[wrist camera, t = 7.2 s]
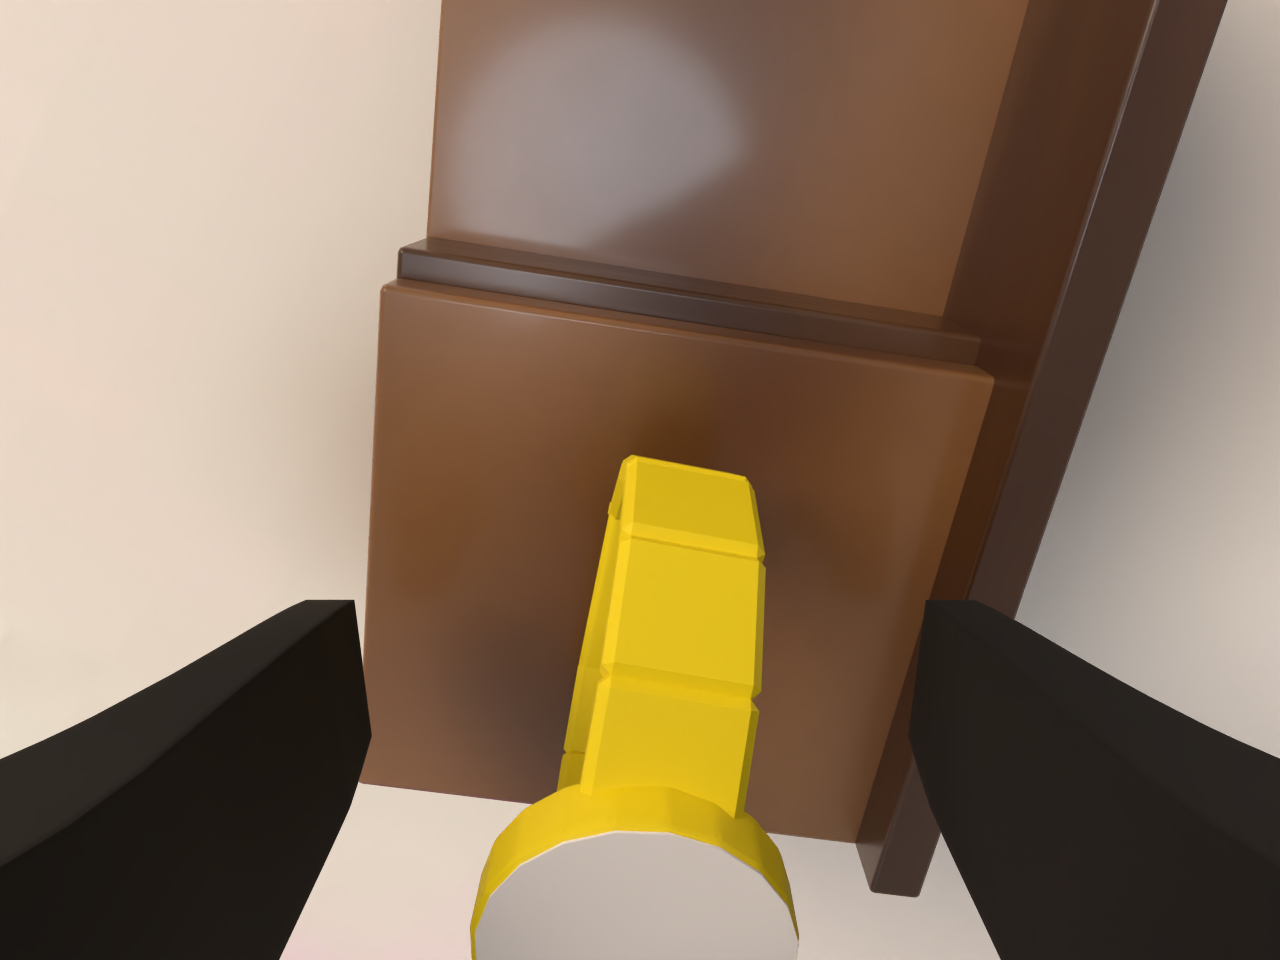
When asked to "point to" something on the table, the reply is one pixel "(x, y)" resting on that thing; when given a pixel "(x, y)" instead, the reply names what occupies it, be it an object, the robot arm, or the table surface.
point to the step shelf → (750, 352)
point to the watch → (654, 751)
